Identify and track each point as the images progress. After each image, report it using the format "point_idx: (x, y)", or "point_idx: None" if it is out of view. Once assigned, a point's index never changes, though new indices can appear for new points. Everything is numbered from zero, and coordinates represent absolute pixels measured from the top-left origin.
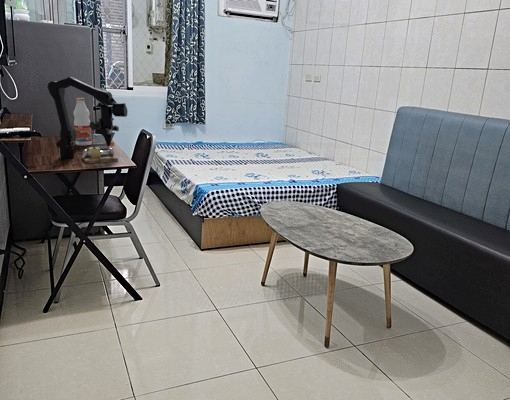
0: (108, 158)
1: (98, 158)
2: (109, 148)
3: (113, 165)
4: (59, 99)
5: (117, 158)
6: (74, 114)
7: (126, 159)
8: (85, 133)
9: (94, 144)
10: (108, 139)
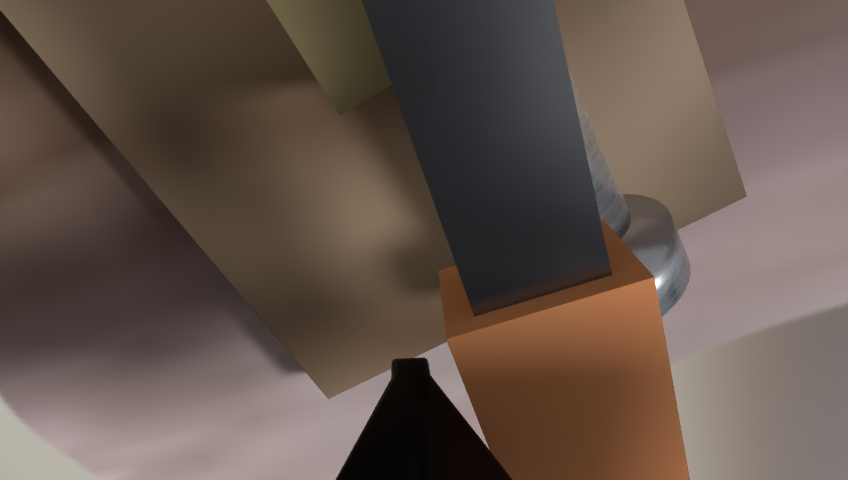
0: (272, 265)
1: (212, 72)
2: (643, 263)
3: (33, 387)
4: None
5: (323, 392)
6: None
7: (476, 432)
8: None
9: None
10: None
